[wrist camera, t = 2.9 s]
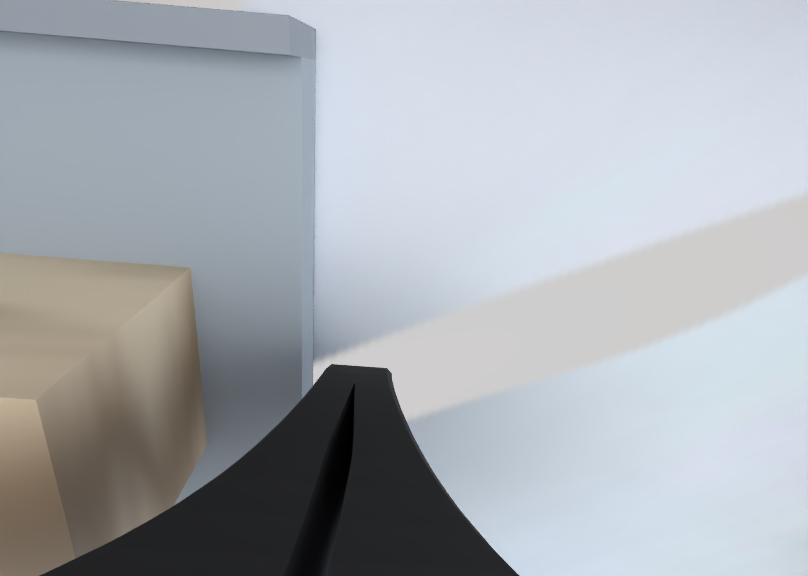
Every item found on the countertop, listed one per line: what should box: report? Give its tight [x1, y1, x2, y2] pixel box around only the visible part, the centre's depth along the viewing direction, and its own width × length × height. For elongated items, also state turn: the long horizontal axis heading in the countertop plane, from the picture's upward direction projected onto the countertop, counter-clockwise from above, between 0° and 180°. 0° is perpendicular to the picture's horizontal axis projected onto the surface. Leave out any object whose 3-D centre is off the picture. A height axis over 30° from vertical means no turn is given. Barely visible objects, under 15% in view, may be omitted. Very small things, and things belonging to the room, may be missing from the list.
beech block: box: [0, 253, 207, 576], centre depth 10 cm, size 5×5×5 cm
